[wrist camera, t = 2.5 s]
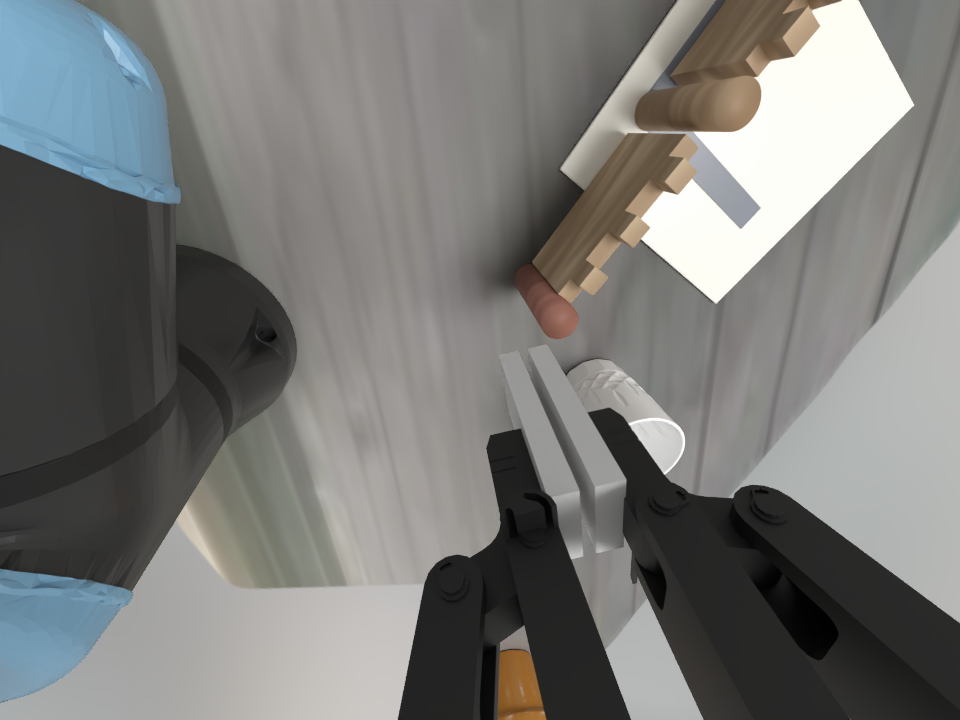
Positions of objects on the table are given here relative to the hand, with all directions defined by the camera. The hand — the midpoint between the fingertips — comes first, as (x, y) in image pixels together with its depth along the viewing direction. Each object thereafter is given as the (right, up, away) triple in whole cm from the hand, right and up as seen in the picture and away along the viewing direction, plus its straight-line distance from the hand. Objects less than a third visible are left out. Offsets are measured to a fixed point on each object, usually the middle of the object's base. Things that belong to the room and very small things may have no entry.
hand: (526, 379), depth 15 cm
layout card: (+18, +18, +14) cm, 28 cm away
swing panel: (+5, +12, +15) cm, 19 cm away
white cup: (+10, -2, +25) cm, 26 cm away
